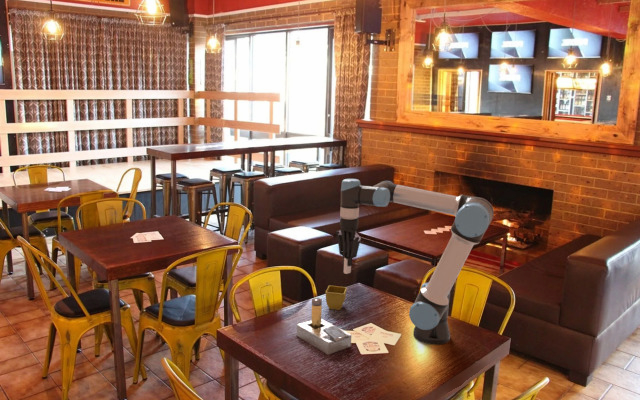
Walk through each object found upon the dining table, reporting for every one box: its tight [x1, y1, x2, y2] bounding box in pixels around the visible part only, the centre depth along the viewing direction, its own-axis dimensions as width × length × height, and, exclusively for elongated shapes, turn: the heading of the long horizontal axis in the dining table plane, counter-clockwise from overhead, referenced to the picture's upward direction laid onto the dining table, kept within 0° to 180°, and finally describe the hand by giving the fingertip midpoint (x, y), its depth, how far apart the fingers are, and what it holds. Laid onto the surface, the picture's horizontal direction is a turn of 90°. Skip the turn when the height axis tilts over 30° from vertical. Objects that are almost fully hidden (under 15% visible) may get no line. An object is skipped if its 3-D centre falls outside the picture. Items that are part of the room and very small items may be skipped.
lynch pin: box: [310, 297, 323, 329], centre depth 233 cm, size 4×4×16 cm
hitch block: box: [296, 318, 353, 355], centre depth 230 cm, size 20×12×5 cm, turn 40°
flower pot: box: [325, 285, 348, 311], centre depth 264 cm, size 9×9×9 cm
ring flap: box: [323, 324, 349, 342], centre depth 224 cm, size 9×7×1 cm
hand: (347, 272), depth 234 cm, fingers closed
